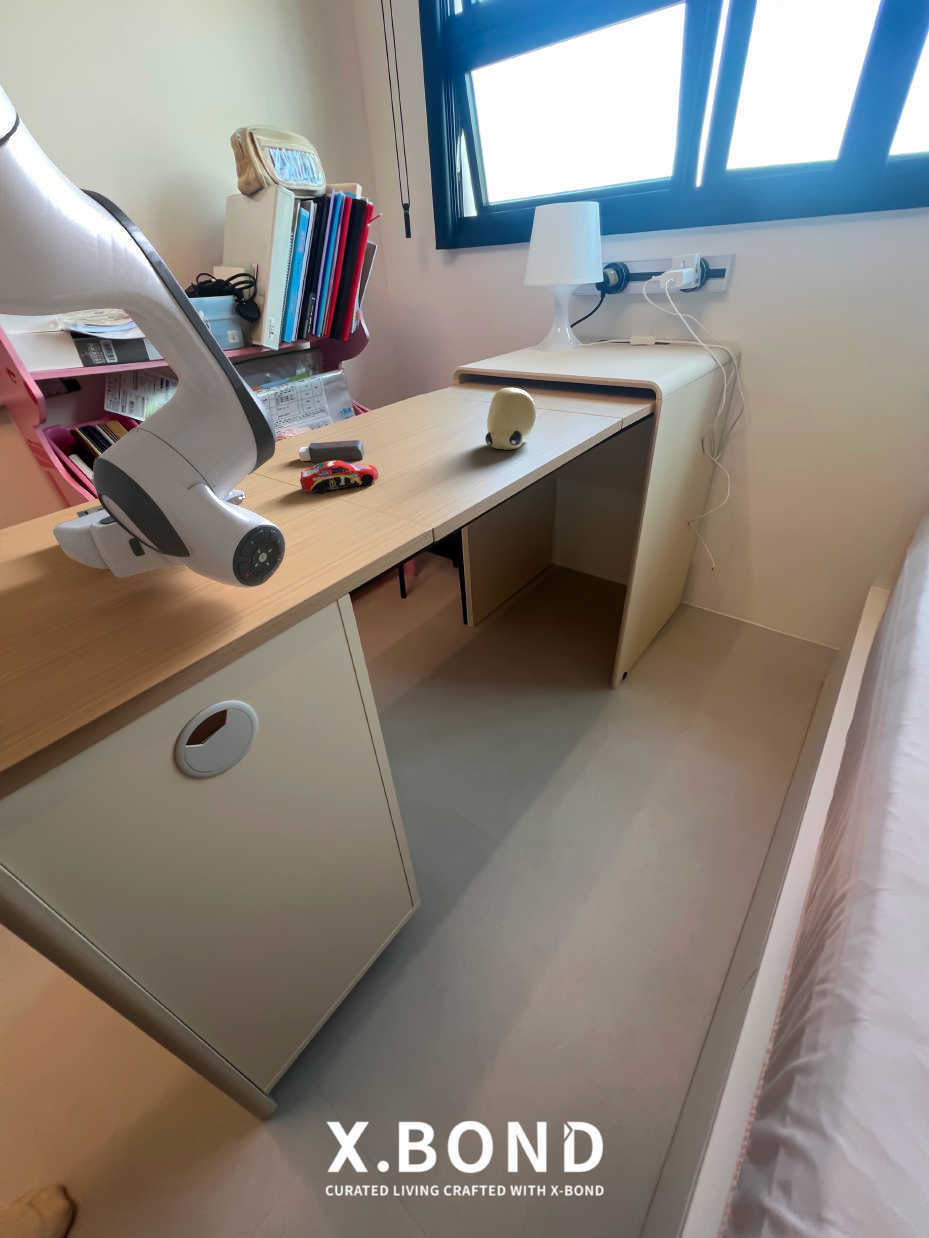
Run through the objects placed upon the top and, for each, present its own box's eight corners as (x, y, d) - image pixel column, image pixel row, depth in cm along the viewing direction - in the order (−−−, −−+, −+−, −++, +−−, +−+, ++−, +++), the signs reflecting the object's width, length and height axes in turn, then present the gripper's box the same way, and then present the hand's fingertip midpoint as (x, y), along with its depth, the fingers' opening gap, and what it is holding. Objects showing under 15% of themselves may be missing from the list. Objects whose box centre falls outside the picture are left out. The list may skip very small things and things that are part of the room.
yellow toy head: (488, 459, 106) (470, 435, 96) (500, 406, 107) (484, 376, 97) (532, 462, 102) (519, 437, 92) (545, 406, 103) (533, 376, 93)
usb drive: (362, 459, 98) (360, 445, 97) (300, 464, 98) (296, 449, 96) (364, 451, 102) (362, 437, 101) (304, 455, 102) (301, 441, 100)
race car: (376, 474, 91) (373, 452, 89) (382, 484, 87) (379, 461, 84) (301, 485, 88) (296, 463, 85) (303, 496, 83) (298, 472, 81)
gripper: (245, 473, 66) (186, 457, 72) (77, 534, 52) (24, 507, 59) (259, 518, 69) (201, 499, 76) (105, 585, 56) (52, 555, 63)
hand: (122, 503), depth 67 cm, fingers closed on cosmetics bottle, 6 cm apart
